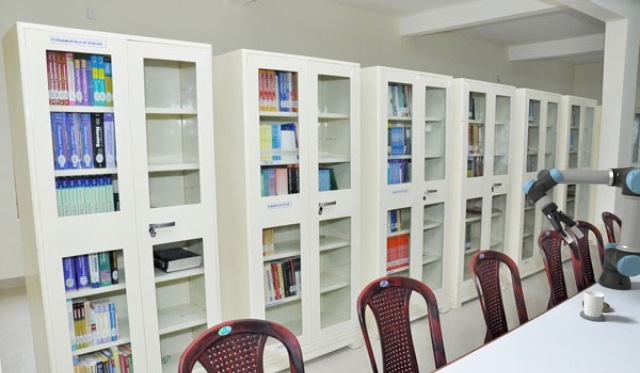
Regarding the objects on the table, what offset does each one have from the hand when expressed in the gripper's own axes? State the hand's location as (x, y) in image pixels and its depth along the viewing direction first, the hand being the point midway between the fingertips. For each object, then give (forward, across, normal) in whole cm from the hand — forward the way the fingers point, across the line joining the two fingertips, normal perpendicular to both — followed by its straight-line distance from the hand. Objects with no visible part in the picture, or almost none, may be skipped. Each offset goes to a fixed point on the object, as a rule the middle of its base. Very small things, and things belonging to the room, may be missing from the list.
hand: (576, 239), depth 232 cm
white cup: (+31, +18, -10) cm, 37 cm away
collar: (+30, +6, -13) cm, 33 cm away
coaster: (+32, +19, -11) cm, 38 cm away
